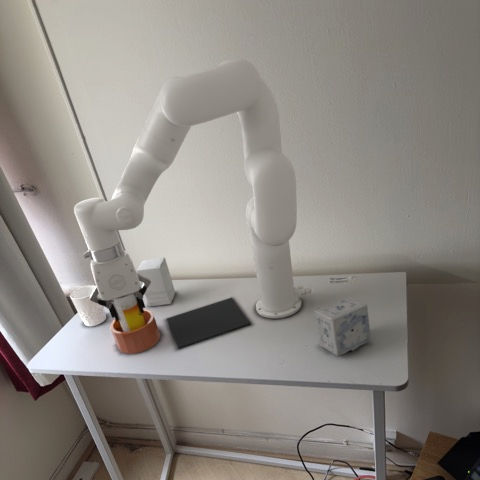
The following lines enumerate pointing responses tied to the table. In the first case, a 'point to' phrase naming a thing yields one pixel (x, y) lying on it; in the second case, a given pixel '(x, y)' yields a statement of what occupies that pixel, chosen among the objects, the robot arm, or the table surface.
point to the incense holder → (343, 326)
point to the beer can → (128, 312)
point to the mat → (206, 322)
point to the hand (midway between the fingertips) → (129, 314)
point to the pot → (136, 335)
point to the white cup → (88, 306)
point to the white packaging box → (157, 281)
